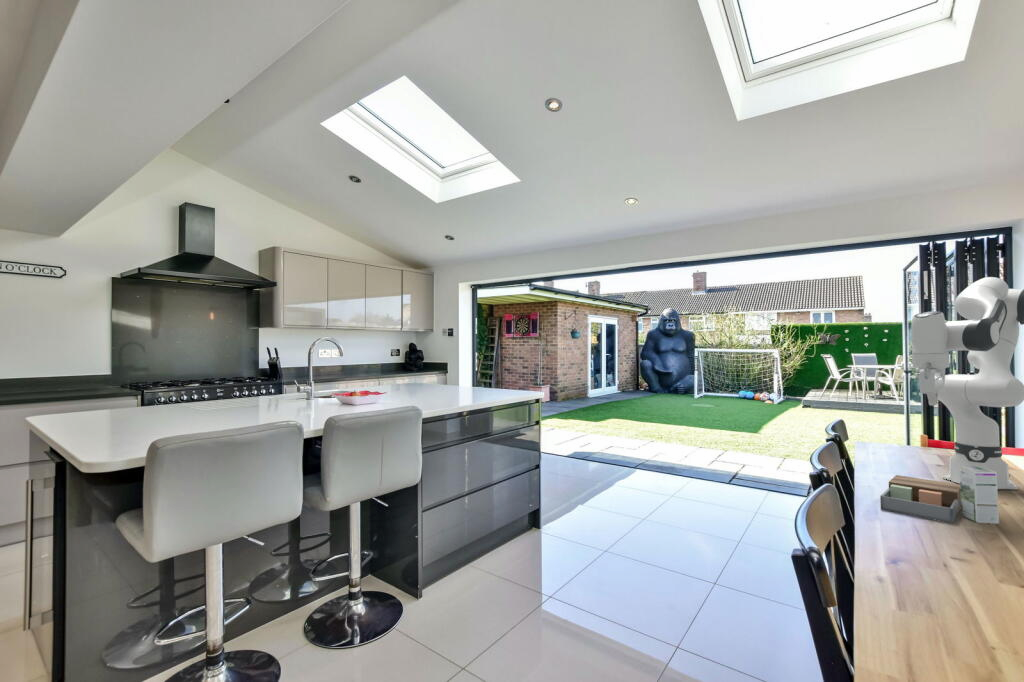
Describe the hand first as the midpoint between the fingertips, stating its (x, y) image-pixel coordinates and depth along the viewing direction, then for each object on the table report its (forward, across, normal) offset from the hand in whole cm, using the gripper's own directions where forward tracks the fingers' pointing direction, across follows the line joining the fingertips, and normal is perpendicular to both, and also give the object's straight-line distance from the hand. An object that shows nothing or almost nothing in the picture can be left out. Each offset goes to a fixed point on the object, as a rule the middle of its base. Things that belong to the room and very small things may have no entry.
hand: (933, 405), depth 150 cm
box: (+30, -18, +2) cm, 35 cm away
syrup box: (+30, -16, -10) cm, 35 cm away
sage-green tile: (+27, -13, +7) cm, 31 cm away
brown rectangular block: (+30, -6, +2) cm, 31 cm away
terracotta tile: (+27, -13, 0) cm, 30 cm away
